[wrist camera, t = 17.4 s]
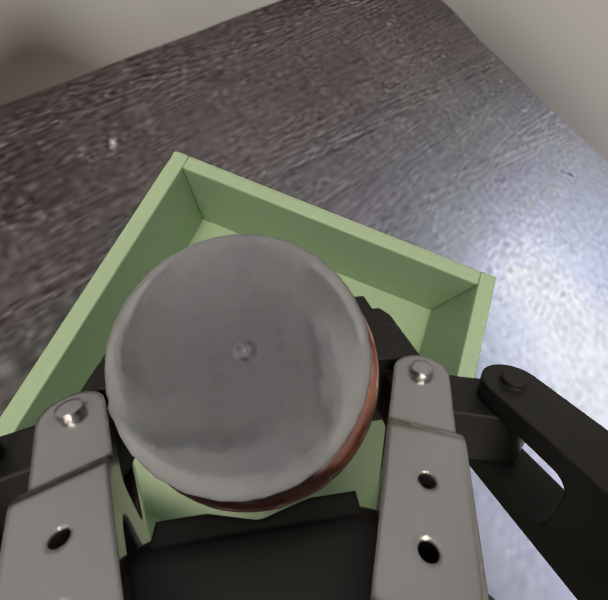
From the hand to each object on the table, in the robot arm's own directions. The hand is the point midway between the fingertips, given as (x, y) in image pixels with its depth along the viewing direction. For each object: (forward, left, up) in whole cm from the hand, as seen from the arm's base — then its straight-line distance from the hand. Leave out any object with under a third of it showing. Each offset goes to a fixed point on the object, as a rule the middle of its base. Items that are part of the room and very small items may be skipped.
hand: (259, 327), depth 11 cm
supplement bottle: (+1, -2, -5) cm, 5 cm away
